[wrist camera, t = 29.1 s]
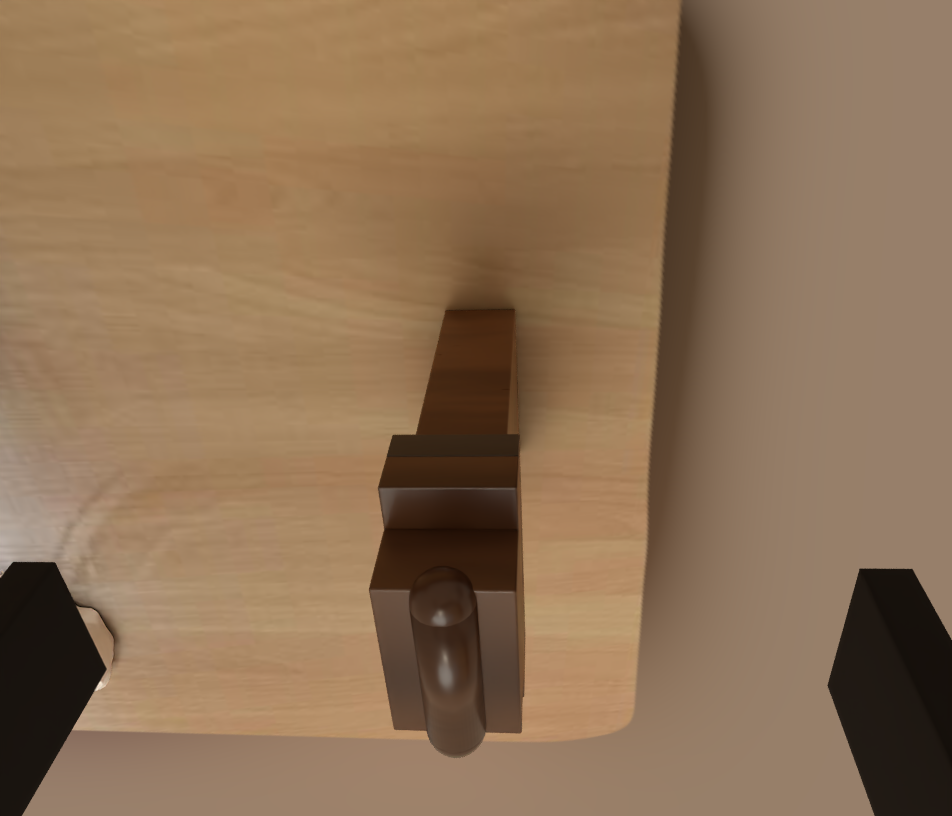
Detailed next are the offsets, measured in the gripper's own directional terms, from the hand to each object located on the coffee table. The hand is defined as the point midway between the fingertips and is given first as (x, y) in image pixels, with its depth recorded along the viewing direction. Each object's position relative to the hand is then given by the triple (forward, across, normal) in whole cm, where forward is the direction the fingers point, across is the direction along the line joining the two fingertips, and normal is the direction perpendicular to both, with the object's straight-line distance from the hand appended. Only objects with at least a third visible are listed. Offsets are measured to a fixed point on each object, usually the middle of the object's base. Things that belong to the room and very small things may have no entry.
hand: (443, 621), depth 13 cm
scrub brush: (+17, -2, -14) cm, 22 cm away
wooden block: (+31, -2, -14) cm, 34 cm away
